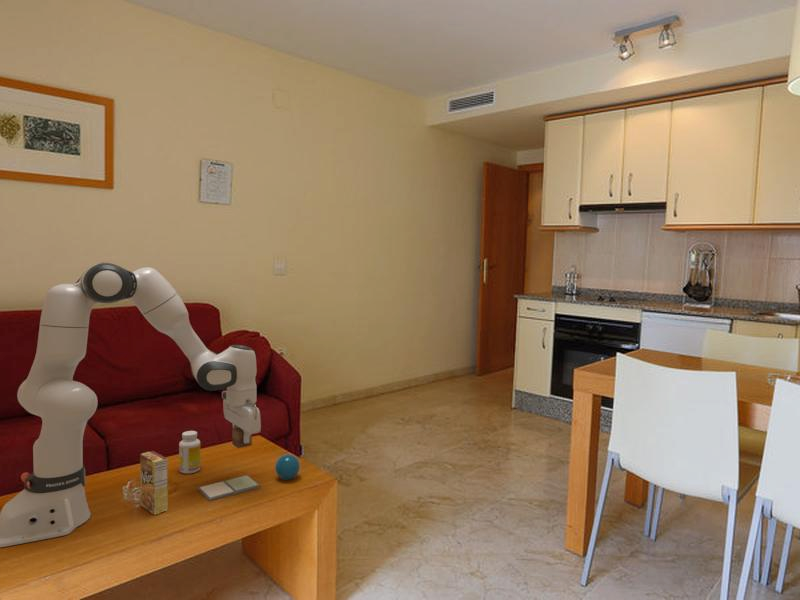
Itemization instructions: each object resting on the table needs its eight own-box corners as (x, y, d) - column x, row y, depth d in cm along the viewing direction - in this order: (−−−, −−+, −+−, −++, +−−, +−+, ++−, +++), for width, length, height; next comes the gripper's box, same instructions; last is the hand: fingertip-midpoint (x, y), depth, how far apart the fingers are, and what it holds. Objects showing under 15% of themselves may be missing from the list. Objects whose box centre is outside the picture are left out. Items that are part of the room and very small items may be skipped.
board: (209, 501, 158) (209, 498, 158) (197, 489, 166) (197, 486, 165) (260, 487, 168) (260, 484, 168) (246, 476, 176) (246, 474, 176)
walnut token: (238, 448, 165) (238, 432, 165) (232, 444, 169) (232, 428, 168) (251, 445, 168) (252, 429, 168) (245, 441, 172) (245, 426, 171)
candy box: (139, 505, 154) (139, 453, 153) (154, 500, 157) (153, 450, 156) (154, 515, 148) (153, 462, 147) (169, 510, 152) (168, 457, 150)
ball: (271, 477, 176) (271, 453, 175) (293, 471, 181) (293, 448, 180) (281, 485, 170) (281, 461, 169) (304, 480, 174) (304, 456, 174)
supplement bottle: (204, 467, 183) (204, 430, 182) (194, 475, 176) (194, 436, 175) (185, 465, 183) (185, 429, 182) (175, 473, 177) (175, 435, 176)
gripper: (266, 402, 161) (266, 447, 162) (238, 388, 177) (238, 429, 178) (246, 406, 157) (246, 451, 158) (219, 391, 173) (219, 433, 174)
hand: (241, 439), depth 168 cm, fingers closed on walnut token, 4 cm apart
